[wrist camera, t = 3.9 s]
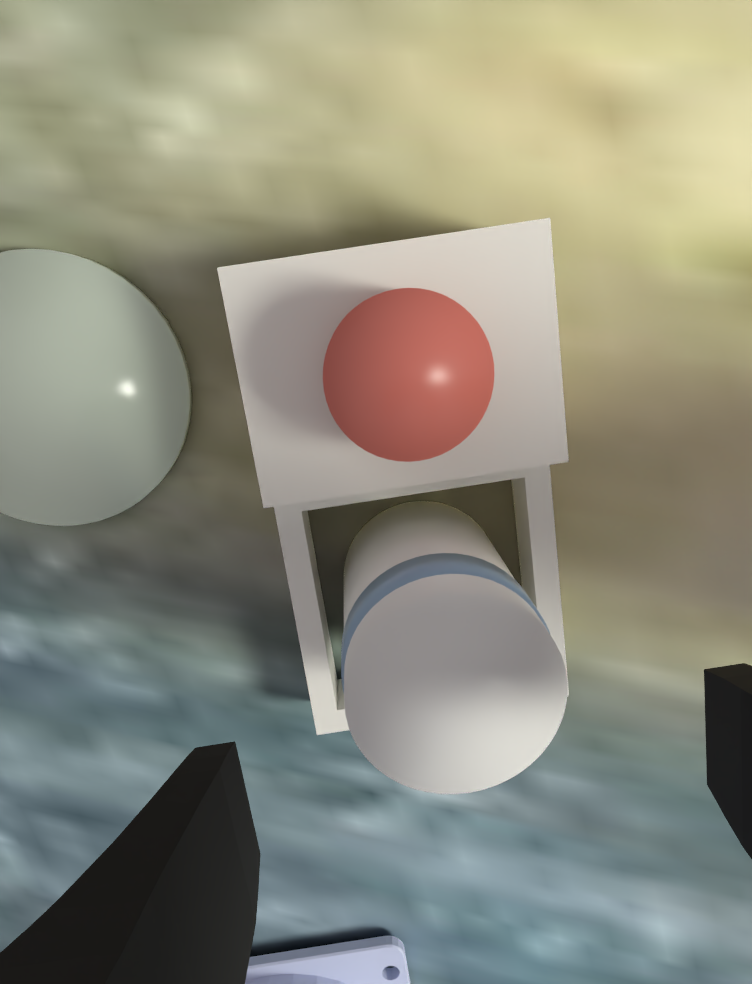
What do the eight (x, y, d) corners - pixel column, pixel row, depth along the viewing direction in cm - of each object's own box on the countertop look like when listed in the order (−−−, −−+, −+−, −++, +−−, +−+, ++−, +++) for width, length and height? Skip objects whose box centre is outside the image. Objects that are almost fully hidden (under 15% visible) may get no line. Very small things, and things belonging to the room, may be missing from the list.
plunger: (466, 417, 16) (502, 448, 13) (338, 436, 16) (337, 473, 13) (451, 283, 16) (485, 275, 12) (317, 303, 16) (309, 301, 12)
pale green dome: (215, 500, 18) (213, 504, 17) (-39, 539, 18) (-48, 544, 17) (159, 230, 16) (154, 228, 16) (-123, 272, 16) (-134, 271, 16)
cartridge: (505, 634, 19) (577, 777, 13) (354, 657, 19) (359, 811, 13) (490, 487, 18) (561, 573, 12) (329, 512, 18) (323, 609, 12)
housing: (551, 666, 19) (588, 730, 16) (318, 702, 19) (314, 772, 16) (513, 233, 16) (550, 217, 13) (239, 275, 16) (217, 267, 13)
